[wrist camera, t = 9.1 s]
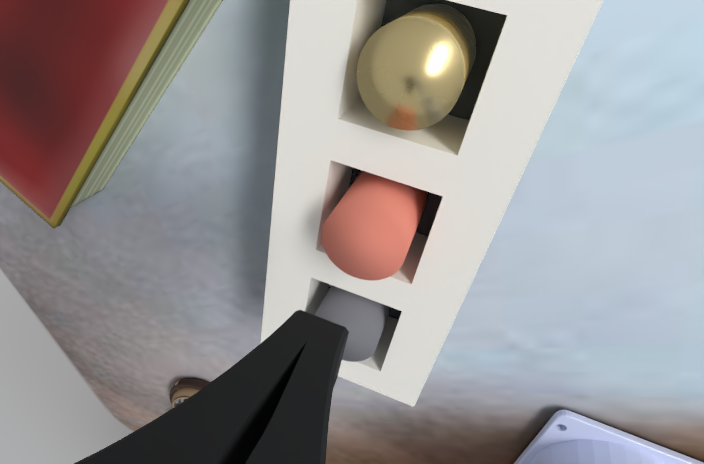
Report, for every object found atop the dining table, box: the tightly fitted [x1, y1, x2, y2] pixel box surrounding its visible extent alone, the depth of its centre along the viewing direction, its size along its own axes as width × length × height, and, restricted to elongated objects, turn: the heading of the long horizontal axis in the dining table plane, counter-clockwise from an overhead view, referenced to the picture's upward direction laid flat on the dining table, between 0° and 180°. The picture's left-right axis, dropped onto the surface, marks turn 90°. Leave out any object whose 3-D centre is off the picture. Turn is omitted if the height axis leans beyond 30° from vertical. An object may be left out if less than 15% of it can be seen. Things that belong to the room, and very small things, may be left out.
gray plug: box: [315, 285, 391, 362], centre depth 20 cm, size 3×3×4 cm
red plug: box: [321, 171, 428, 281], centre depth 16 cm, size 3×3×4 cm
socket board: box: [261, 0, 603, 407], centre depth 17 cm, size 18×8×4 cm, turn 169°
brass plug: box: [357, 4, 476, 131], centre depth 14 cm, size 3×3×4 cm
